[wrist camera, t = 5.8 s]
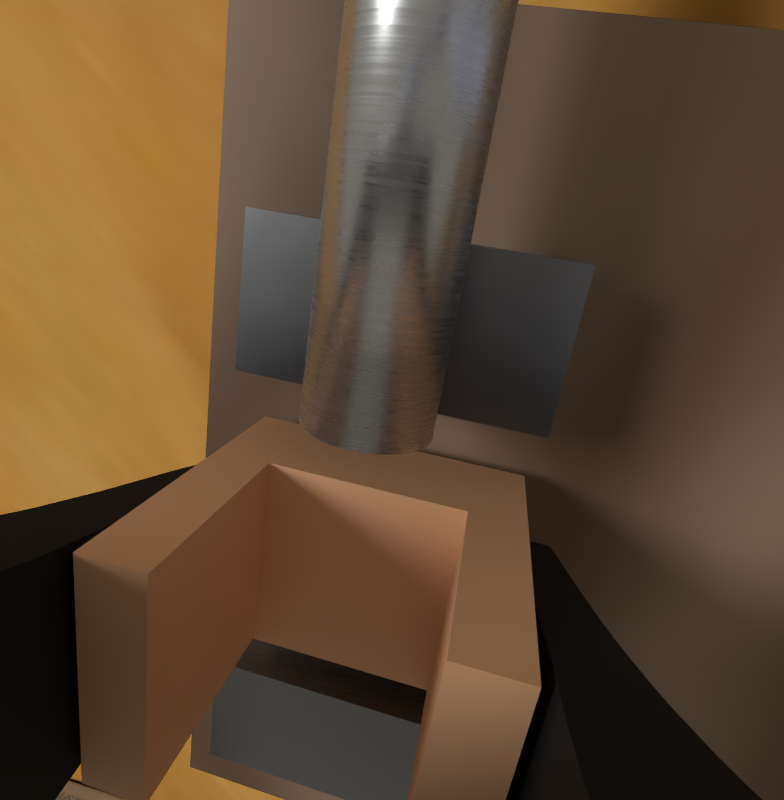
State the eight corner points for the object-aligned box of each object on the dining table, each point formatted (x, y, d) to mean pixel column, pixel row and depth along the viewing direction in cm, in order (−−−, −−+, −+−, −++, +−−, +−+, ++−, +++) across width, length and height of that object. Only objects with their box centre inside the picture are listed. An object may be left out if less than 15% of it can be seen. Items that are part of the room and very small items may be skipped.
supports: (576, 261, 9) (595, 265, 7) (450, 746, 12) (441, 832, 10) (295, 214, 9) (245, 206, 8) (250, 683, 13) (210, 753, 11)
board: (1344, 116, 7) (1473, 96, 6) (811, 934, 13) (836, 989, 12) (257, 2, 10) (229, -24, 9) (209, 734, 15) (190, 766, 14)
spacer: (524, 476, 9) (541, 688, 5) (483, 632, 10) (466, 922, 6) (265, 415, 10) (72, 552, 6) (252, 567, 11) (82, 782, 7)
